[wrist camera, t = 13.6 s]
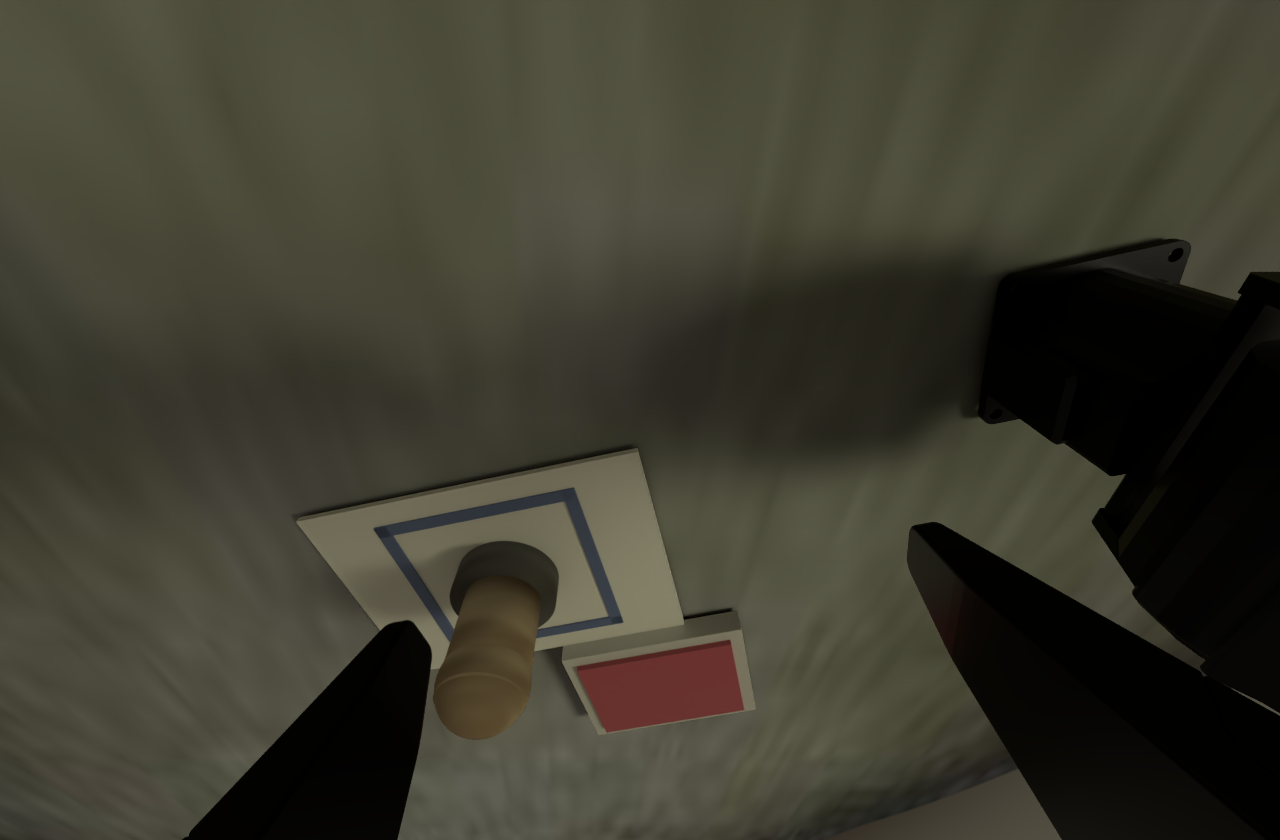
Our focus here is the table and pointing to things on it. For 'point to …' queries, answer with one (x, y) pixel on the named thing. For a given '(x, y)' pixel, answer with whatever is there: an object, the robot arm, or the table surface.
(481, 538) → the paper
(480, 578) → the stamp
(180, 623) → the table surface
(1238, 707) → the robot arm
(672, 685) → the ink pad
